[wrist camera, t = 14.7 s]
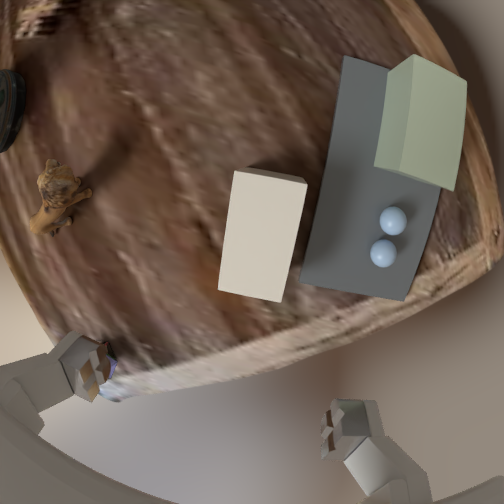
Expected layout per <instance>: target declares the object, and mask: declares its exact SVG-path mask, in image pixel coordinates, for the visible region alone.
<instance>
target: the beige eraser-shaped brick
mask: <svg viewBox="0 0 504 504" xmlns="http://www.w3.org/2000/svg"><path fill="white" fill-rule="evenodd" d="M307 185H308V184H307V183H306V182H305V180H304V179H303V178H302V177H297V176H293V175H288V174H283V173H277V172H272V171H267V170H261V169H255V168H249V167H245V168H242V169H239V170H236V171H234V178H233V184H232V191H231V197H230V204H229V211H228V217H227V224H226V231H225V238H224V246H223V253H222V261H221V268H220V276H219V284H218V290H222V291H226V292H231V293H236V294H240V295H245V296H250V297H255V298H260V299H265V300H270V301H275V302H280V303H281V299H282V295H283V291H284V287H285V283H286V279H287V275H288V271H289V267H290V263H291V258H292V254H293V250H294V245H295V241H296V237H297V232H298V228H299V223H300V219H301V214H302V209H303V205H304V200H305V195H306V190H307Z"/></svg>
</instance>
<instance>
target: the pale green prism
mask: <svg viewBox="0 0 504 504" xmlns="http://www.w3.org/2000/svg"><path fill="white" fill-rule="evenodd" d="M466 97H467V81H465V80H463V79H462V78H460V77H458V76H457V75H455V74H453V73H451V72H449V71H448V70H446V69H444V68H442V67H440V66H438V65H436V64H434V63H432V62H430V61H428V60H426V59H424V58H422V57H419V56H417V55H415V54H413V55H412V56H410V57H409V58H407V59H406V60H405V61H403V62H402V63H400V64H399V65H398V66H396V67H395V68H394V69H392V70H391V71H390V72H388V76H387V85H386V94H385V102H384V109H383V116H382V122H381V129H380V135H379V140H378V146H377V151H376V156H375V162H374V167H378V168H381V169H384V170H387V171H391V172H394V173H397V174H400V175H403V176H406V177H409V178H412V179H414V180H417V181H420V182H423V183H427V184H431V185H434V186H437V187H441V188H444V189H447V190H451V191H454V187H455V182H456V177H457V172H458V167H459V161H460V155H461V149H462V141H463V134H464V124H465V113H466Z"/></svg>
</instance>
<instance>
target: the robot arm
mask: <svg viewBox="0 0 504 504" xmlns="http://www.w3.org/2000/svg"><path fill="white" fill-rule="evenodd" d="M107 353H108V350H107V346H106V345H104V344H102V343H99V342H97V341H95V340H93V339H91V338H89V337H86V336H84V335H82V334H80V333H78V332H76V331H71V332H69V333H68V334H67V335H66V336H65V337H64V338H63V339H62V340H61V341H60V342H59V343H58V344H57V345H56V346H55V347H54V348H53V349H52V351H51V352H50V353H49V354H46V353H43V354H40V355H37V356H33V357H30V358H27V359H23V360H20V361H16V362H13V363H9V364H6V365H2V366H0V504H177V503H174V502H171V501H168V500H164V499H161V498H158V497H155V496H153V495H150V494H147V493H144V492H142V491H139V490H137V489H134V488H131V487H129V486H127V485H124V484H122V483H120V482H118V481H115V480H113V479H111V478H109V477H107V476H105V475H103V474H101V473H99V472H97V471H95V470H93V469H91V468H89V467H87V466H86V465H84V464H82V463H80V462H78V461H77V460H75V459H73V458H72V457H70V456H68V455H67V454H65V453H63V452H62V451H60V450H59V449H57V448H56V447H54V446H52V445H51V444H50V443H48V442H47V441H45V440H44V439H42V438H41V437H40V436H38V434H39V432H40V431H41V430H42V428H43V427H44V421H43V420H42V418H41V417H40V416H39V414H38V413H39V412H41V411H43V410H45V409H47V408H50V407H52V406H53V405H56V404H57V403H60V402H61V401H63V400H65V399H67V398H69V397H71V396H73V395H74V394H75V395H77V396H79V397H81V398H83V399H85V400H87V401H89V402H92V401H93V400H94V398H95V397H96V396H97V394H98V393H99V391H100V389H99V385H101V384H104V383H105V382H106V381H107V379H108V378H109V375H110V372H111V363H110V360H109V359H108V358H107V356H106V354H107ZM321 436H322V437H323V439H324V440H325V441H324V442H323V443H322V445H321V455H322V460H328V461H344V463H345V465H346V466H347V468H348V469H349V471H350V472H351V474H352V475H353V476H354V478H355V479H356V480H357V482H358V484H359V485H360V486H361V488H362V489H363V491H364V492H365V493H366V495H367V496H368V497H367V498H365V499H363V500H361V501H360V502H358V503H357V504H504V477H503V476H496V477H493V478H491V479H489V480H487V481H485V482H483V483H481V484H479V485H477V486H474V487H473V488H470V489H467V490H465V491H462V492H460V493H458V494H455V495H453V496H449V497H447V498H444V499H441V500H438V501H435V502H433V501H432V495H431V490H430V486H429V481H428V477H427V473H426V472H425V471H424V470H423V469H422V468H421V467H420V466H419V465H418V464H417V463H416V462H415V461H413V460H412V459H411V458H410V457H409V456H408V455H407V454H406V453H405V452H404V451H403V450H402V449H401V448H400V447H399V446H398V445H397V444H396V443H395V442H394V441H393V440H392V439H391V438H390V437H389V436H385V434H384V429H383V425H382V421H381V417H380V413H379V409H378V405H377V402H376V401H375V400H355V399H334V400H333V402H332V403H331V410H329V411H327V412H326V413H325V415H324V416H323V419H322V422H321Z"/></svg>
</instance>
